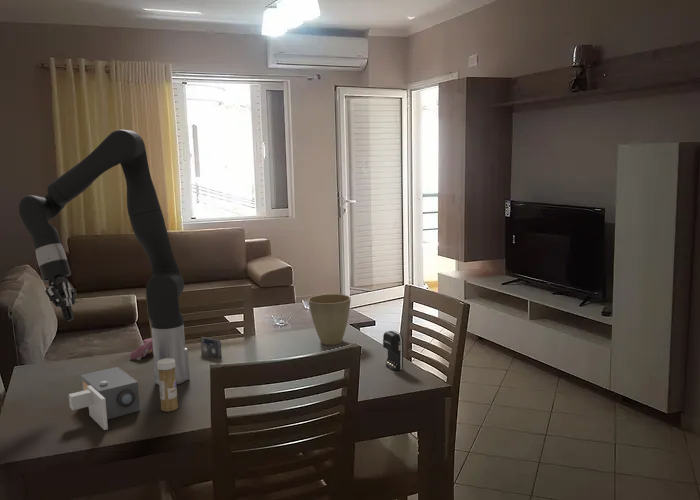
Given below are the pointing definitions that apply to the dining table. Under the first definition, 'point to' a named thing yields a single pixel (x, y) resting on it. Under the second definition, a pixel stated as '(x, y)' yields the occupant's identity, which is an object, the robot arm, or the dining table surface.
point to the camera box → (114, 390)
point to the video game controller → (143, 349)
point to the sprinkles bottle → (167, 384)
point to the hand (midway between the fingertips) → (70, 320)
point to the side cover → (90, 404)
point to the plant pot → (330, 316)
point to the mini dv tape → (211, 347)
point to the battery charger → (394, 349)
